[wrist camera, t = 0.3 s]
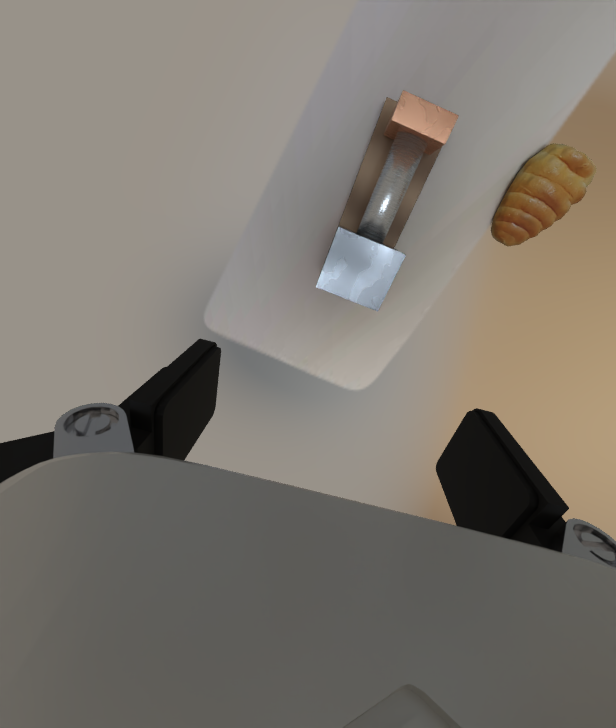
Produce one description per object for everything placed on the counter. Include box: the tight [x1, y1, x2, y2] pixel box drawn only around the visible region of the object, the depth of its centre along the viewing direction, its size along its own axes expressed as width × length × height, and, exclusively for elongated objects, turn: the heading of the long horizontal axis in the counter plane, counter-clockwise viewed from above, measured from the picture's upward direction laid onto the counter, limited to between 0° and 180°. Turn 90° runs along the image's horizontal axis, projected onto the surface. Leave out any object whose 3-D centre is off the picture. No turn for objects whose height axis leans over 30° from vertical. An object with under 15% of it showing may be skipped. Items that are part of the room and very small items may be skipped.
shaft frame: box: [316, 97, 442, 311], centre depth 30 cm, size 18×7×8 cm, turn 160°
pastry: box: [491, 144, 596, 246], centre depth 31 cm, size 9×7×4 cm
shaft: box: [356, 90, 458, 244], centre depth 29 cm, size 13×5×5 cm, turn 160°
